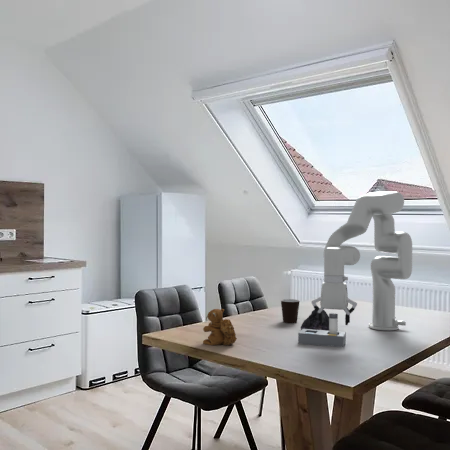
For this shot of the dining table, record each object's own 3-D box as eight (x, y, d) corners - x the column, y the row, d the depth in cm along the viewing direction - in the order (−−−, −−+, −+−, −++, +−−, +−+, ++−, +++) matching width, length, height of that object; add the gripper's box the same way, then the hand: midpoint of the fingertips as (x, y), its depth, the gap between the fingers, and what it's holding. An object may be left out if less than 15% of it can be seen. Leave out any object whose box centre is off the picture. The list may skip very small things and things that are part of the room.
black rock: (307, 336, 226) (310, 313, 225) (294, 327, 239) (296, 305, 238) (336, 337, 230) (339, 314, 229) (321, 328, 243) (324, 306, 242)
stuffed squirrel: (215, 338, 218) (215, 305, 218) (243, 344, 209) (243, 309, 209) (198, 343, 210) (198, 309, 210) (227, 349, 201) (227, 313, 201)
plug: (338, 341, 212) (338, 313, 211) (337, 343, 208) (337, 314, 208) (329, 341, 213) (329, 312, 212) (328, 343, 210) (328, 314, 209)
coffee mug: (293, 324, 247) (293, 302, 247) (277, 322, 252) (277, 300, 252) (305, 320, 256) (306, 299, 256) (289, 318, 261) (290, 297, 261)
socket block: (345, 342, 213) (345, 331, 213) (343, 347, 205) (343, 336, 205) (302, 338, 219) (302, 328, 219) (298, 343, 211) (298, 332, 211)
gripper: (358, 279, 211) (357, 323, 212) (313, 277, 217) (313, 320, 217) (356, 281, 204) (356, 327, 204) (309, 279, 210) (309, 324, 210)
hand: (334, 323), depth 211 cm, fingers open, 9 cm apart
